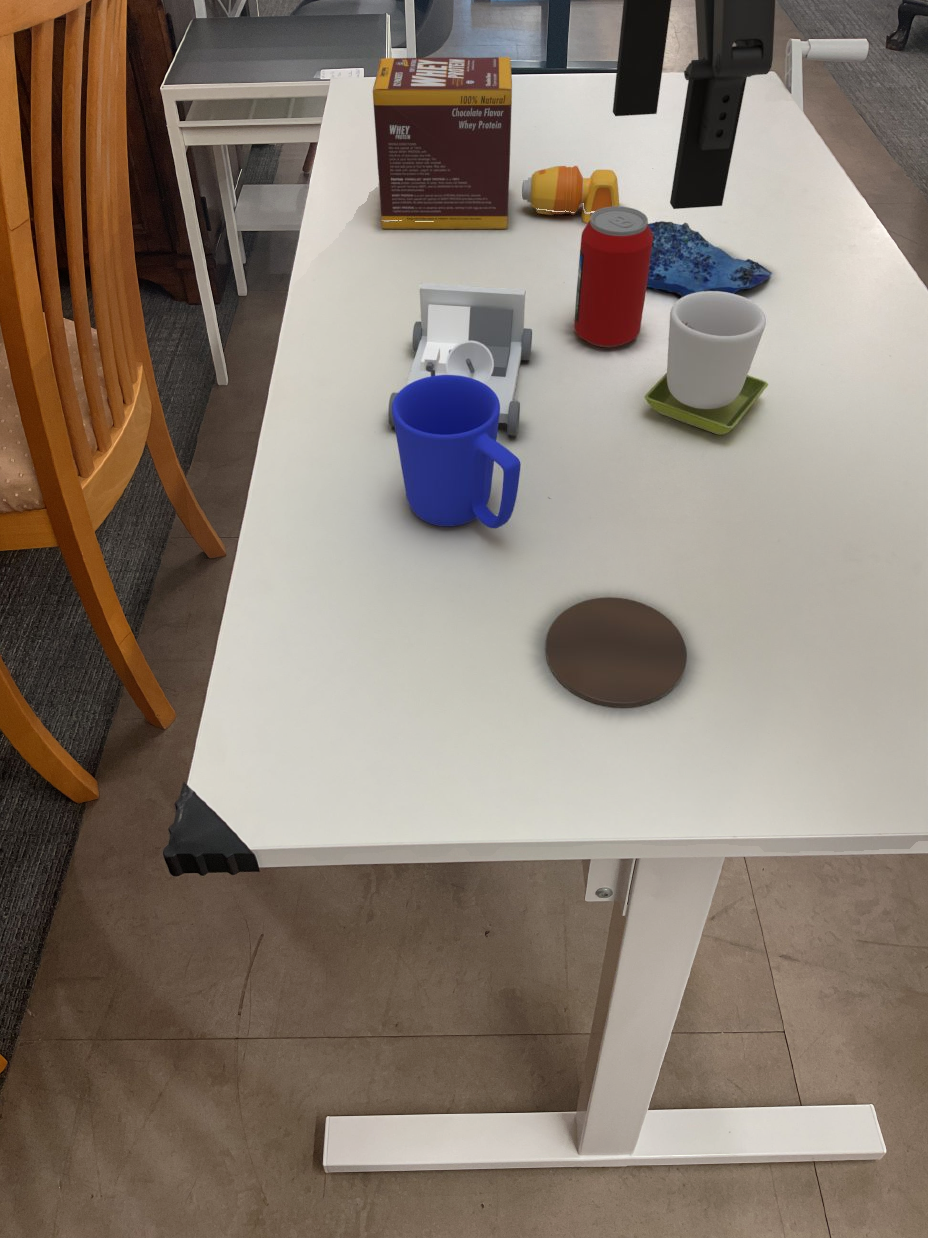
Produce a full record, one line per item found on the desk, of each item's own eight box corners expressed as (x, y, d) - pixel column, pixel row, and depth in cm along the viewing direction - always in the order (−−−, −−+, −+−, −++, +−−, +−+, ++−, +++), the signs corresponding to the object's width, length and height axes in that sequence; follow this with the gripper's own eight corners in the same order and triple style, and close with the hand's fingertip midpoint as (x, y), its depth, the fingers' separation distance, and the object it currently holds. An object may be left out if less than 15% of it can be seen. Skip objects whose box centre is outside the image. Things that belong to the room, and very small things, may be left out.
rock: (665, 224, 112) (667, 208, 111) (786, 276, 104) (791, 259, 102) (583, 268, 106) (584, 252, 104) (705, 327, 97) (709, 310, 96)
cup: (690, 347, 90) (705, 268, 85) (770, 370, 88) (791, 290, 82) (643, 402, 84) (655, 321, 78) (727, 429, 81) (746, 347, 76)
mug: (471, 579, 72) (471, 477, 65) (380, 501, 79) (370, 400, 71) (549, 532, 76) (557, 431, 68) (455, 461, 82) (453, 361, 75)
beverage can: (605, 310, 99) (618, 196, 90) (653, 336, 96) (670, 220, 87) (559, 332, 96) (567, 216, 88) (606, 359, 93) (620, 242, 84)
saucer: (765, 400, 88) (770, 381, 86) (727, 448, 83) (732, 428, 82) (680, 372, 91) (684, 353, 90) (639, 416, 86) (642, 397, 85)
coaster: (703, 699, 64) (704, 695, 64) (560, 715, 63) (560, 710, 63) (664, 595, 71) (665, 590, 71) (534, 608, 70) (534, 603, 70)
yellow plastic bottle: (520, 222, 114) (620, 224, 113) (521, 176, 110) (625, 177, 109) (523, 203, 117) (619, 204, 116) (524, 157, 113) (624, 158, 112)
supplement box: (509, 229, 112) (512, 87, 101) (381, 229, 113) (370, 87, 101) (508, 192, 119) (511, 55, 108) (387, 192, 120) (378, 55, 108)
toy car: (516, 362, 75) (375, 352, 76) (513, 460, 82) (383, 450, 83) (536, 256, 87) (413, 249, 88) (531, 349, 94) (418, 342, 95)
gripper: (587, -368, 48) (560, 85, 64) (745, -351, 31) (655, 258, 47) (728, -371, 49) (667, 79, 64) (958, -355, 32) (800, 247, 48)
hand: (662, 155), depth 56 cm, fingers open, 13 cm apart
